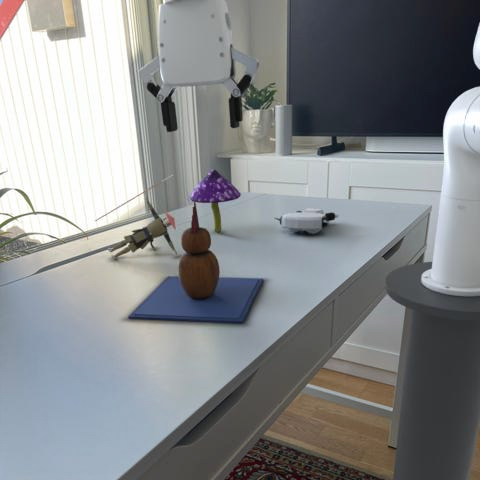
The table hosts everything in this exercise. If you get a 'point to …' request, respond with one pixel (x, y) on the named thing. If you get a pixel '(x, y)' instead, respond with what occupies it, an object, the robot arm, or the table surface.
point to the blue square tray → (200, 302)
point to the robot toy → (306, 220)
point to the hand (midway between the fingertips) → (203, 129)
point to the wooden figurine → (198, 261)
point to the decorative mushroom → (214, 194)
